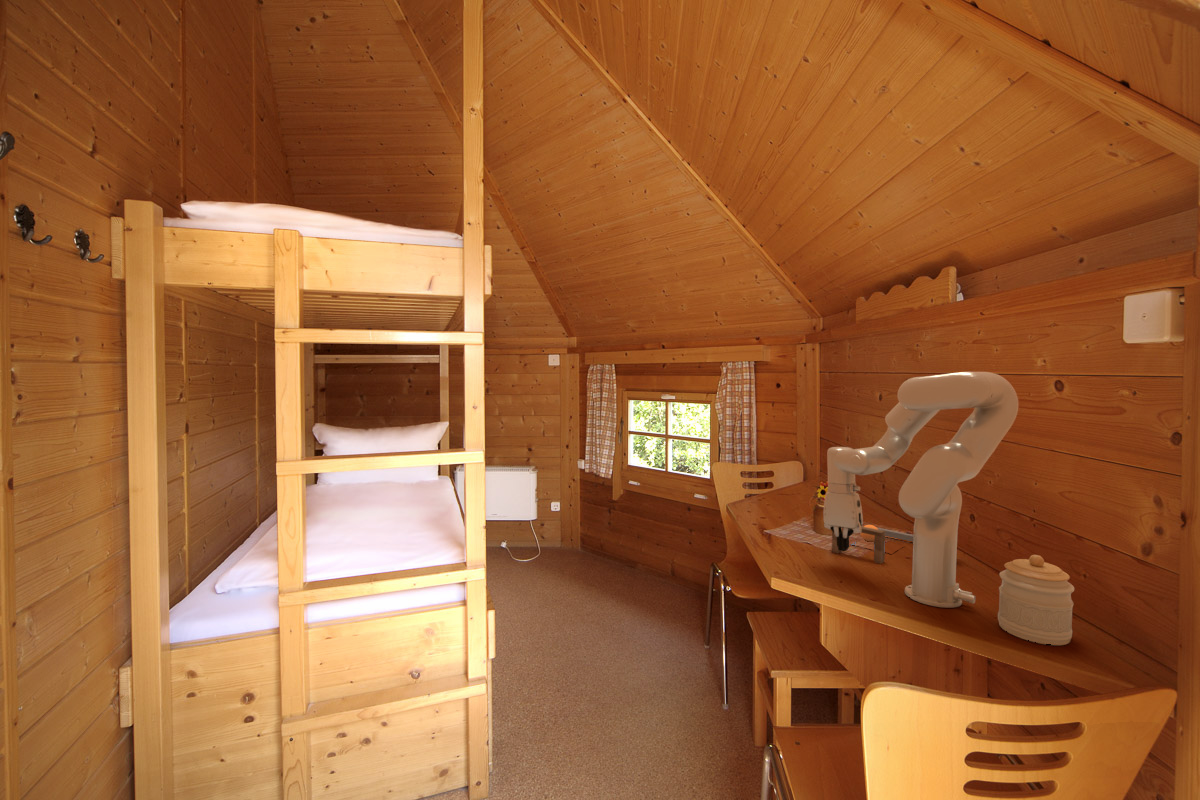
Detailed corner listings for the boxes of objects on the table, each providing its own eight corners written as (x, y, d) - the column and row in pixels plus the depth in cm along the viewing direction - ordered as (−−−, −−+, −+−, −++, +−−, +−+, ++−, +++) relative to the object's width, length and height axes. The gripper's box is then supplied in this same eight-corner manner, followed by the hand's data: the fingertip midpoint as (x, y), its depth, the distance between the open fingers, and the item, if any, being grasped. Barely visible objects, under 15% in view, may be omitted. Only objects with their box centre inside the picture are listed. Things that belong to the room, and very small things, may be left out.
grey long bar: (917, 542, 183) (917, 535, 183) (915, 544, 182) (915, 536, 182) (869, 532, 195) (869, 525, 195) (866, 533, 194) (867, 526, 194)
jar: (996, 614, 128) (999, 542, 127) (1067, 629, 120) (1071, 553, 120) (998, 635, 117) (1001, 557, 117) (1076, 653, 110) (1080, 569, 109)
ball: (883, 535, 184) (880, 523, 182) (877, 548, 182) (874, 536, 179) (866, 530, 189) (862, 519, 186) (859, 543, 186) (856, 532, 183)
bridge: (835, 550, 175) (836, 521, 175) (884, 562, 164) (885, 531, 163) (831, 552, 173) (832, 522, 172) (880, 564, 162) (881, 533, 161)
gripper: (872, 489, 155) (874, 552, 155) (822, 484, 166) (824, 543, 166) (862, 493, 150) (864, 557, 150) (811, 487, 161) (812, 547, 161)
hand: (843, 549), depth 158 cm, fingers closed
